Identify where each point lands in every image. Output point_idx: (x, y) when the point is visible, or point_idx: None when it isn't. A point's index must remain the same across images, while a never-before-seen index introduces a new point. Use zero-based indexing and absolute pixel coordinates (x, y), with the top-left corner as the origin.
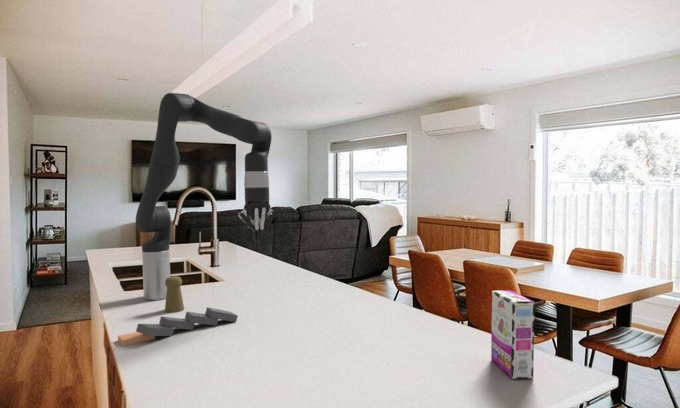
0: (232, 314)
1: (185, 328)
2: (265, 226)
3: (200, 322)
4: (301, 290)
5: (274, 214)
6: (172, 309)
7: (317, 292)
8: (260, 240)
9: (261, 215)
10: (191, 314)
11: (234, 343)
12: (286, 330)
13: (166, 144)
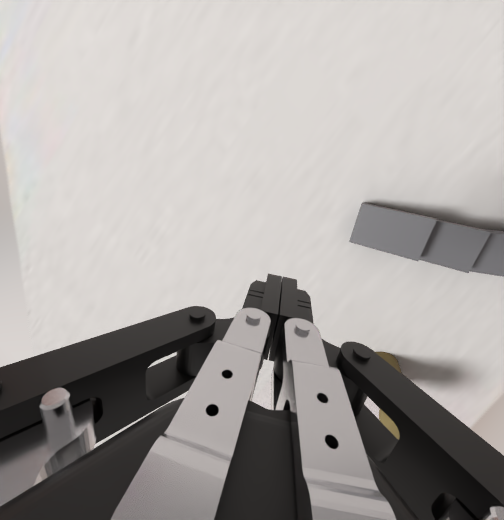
0: (375, 208)
1: (486, 229)
2: (214, 317)
3: (455, 223)
4: (114, 289)
5: (20, 376)
6: (395, 361)
7: (95, 251)
8: (275, 276)
9: (243, 417)
10: (481, 243)
11: (493, 50)
12: (335, 39)
13: None
